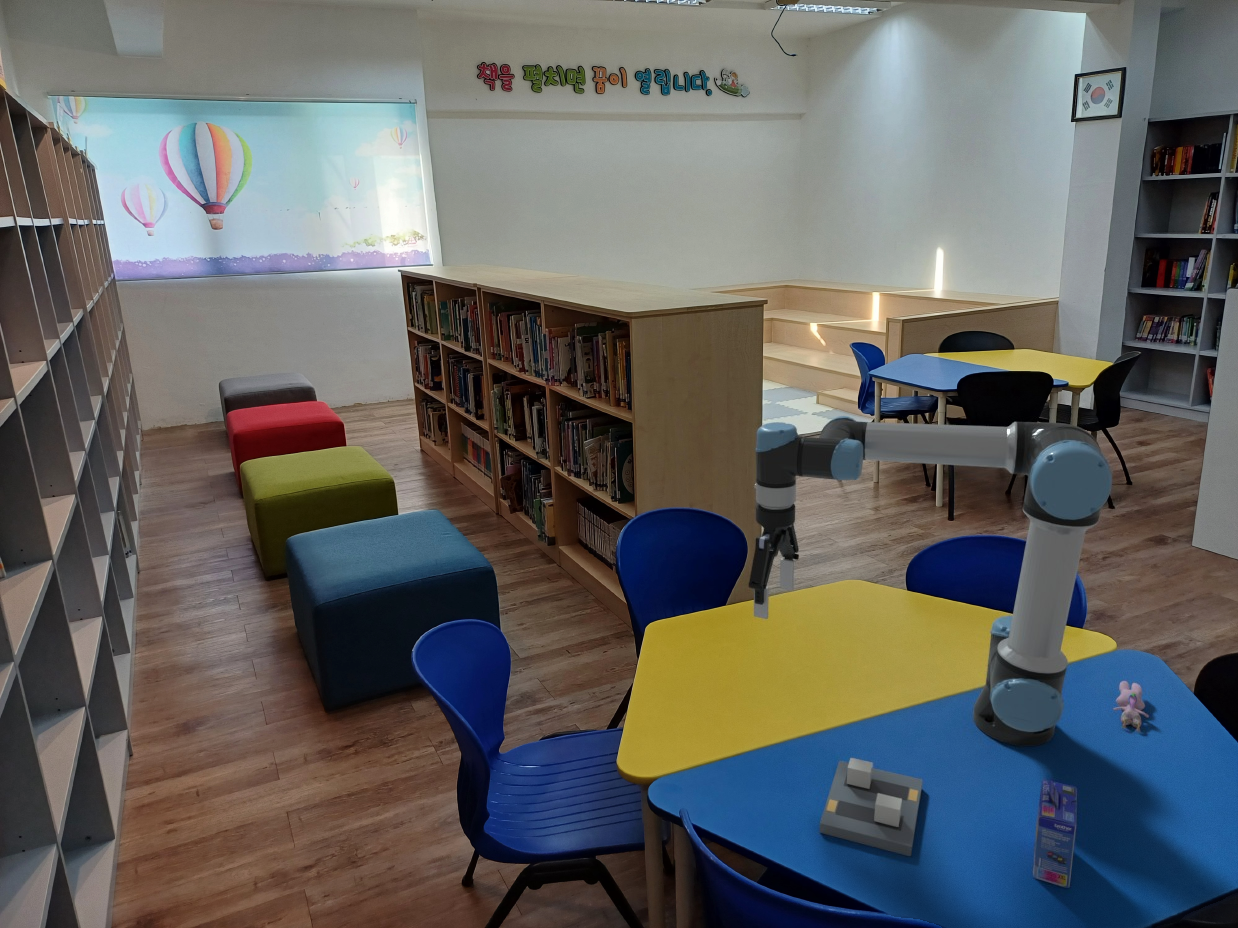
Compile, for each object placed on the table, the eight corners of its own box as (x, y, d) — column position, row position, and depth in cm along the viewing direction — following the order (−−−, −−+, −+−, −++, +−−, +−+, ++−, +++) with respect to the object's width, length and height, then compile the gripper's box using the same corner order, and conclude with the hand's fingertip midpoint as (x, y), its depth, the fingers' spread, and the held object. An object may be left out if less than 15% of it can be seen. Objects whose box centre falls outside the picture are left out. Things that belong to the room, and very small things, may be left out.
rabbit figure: (1147, 740, 170) (1145, 691, 182) (1152, 717, 167) (1150, 669, 179) (1111, 732, 173) (1112, 684, 184) (1116, 710, 170) (1116, 663, 182)
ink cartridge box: (1033, 837, 145) (1043, 765, 140) (1070, 847, 142) (1081, 774, 138) (1030, 878, 136) (1040, 802, 132) (1069, 889, 134) (1081, 813, 129)
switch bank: (921, 788, 157) (922, 778, 156) (910, 856, 142) (911, 846, 141) (838, 769, 163) (839, 760, 162) (819, 832, 148) (820, 822, 147)
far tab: (871, 778, 157) (872, 762, 156) (869, 788, 154) (870, 772, 153) (849, 773, 158) (850, 757, 157) (846, 783, 156) (847, 767, 155)
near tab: (900, 815, 147) (901, 798, 146) (898, 826, 145) (899, 809, 144) (876, 809, 149) (877, 792, 148) (874, 820, 146) (875, 803, 145)
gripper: (781, 480, 176) (779, 574, 183) (730, 521, 156) (731, 625, 163) (816, 485, 173) (813, 581, 179) (769, 528, 153) (768, 634, 159)
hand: (774, 602), depth 171 cm, fingers open, 13 cm apart
